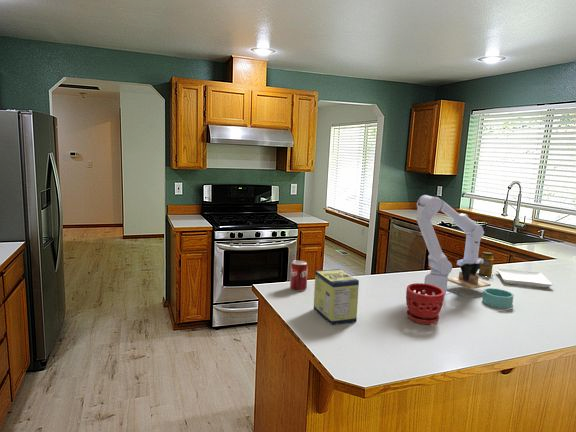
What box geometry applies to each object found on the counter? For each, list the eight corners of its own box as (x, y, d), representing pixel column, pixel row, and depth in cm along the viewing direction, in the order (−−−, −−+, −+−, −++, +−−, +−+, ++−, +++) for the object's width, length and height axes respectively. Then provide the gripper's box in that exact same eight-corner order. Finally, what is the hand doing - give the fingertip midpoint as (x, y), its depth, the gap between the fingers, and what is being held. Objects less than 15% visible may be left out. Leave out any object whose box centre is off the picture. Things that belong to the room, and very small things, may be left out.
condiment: (494, 275, 214) (497, 253, 212) (488, 278, 208) (490, 255, 206) (480, 272, 219) (482, 250, 217) (473, 275, 213) (476, 252, 211)
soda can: (307, 286, 184) (308, 260, 182) (306, 292, 177) (307, 265, 175) (290, 285, 184) (291, 259, 183) (289, 291, 177) (290, 264, 175)
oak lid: (469, 289, 176) (470, 279, 176) (446, 280, 188) (447, 271, 187) (490, 285, 182) (491, 276, 181) (466, 277, 194) (467, 268, 193)
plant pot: (397, 314, 156) (399, 284, 154) (425, 311, 160) (428, 281, 158) (419, 329, 144) (422, 296, 142) (449, 324, 148) (452, 292, 146)
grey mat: (469, 299, 176) (469, 298, 176) (442, 288, 189) (442, 287, 189) (493, 295, 182) (493, 294, 182) (465, 284, 196) (465, 283, 196)
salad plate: (502, 285, 198) (503, 278, 198) (494, 273, 218) (495, 267, 218) (552, 291, 192) (553, 284, 192) (539, 278, 212) (540, 272, 212)
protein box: (336, 306, 162) (339, 268, 159) (357, 322, 147) (360, 280, 145) (312, 309, 158) (314, 270, 155) (331, 325, 144) (333, 282, 141)
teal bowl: (499, 310, 164) (501, 298, 163) (476, 301, 174) (477, 290, 173) (518, 307, 169) (519, 295, 168) (494, 298, 178) (495, 287, 178)
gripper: (467, 253, 176) (464, 283, 178) (490, 251, 182) (487, 280, 184) (454, 249, 182) (451, 279, 184) (477, 247, 189) (473, 276, 191)
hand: (468, 279), depth 185 cm, fingers closed on oak lid, 3 cm apart
